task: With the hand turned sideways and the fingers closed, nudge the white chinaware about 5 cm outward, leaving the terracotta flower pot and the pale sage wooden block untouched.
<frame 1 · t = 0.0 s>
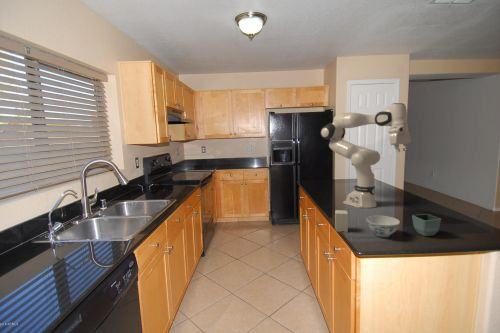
hand: (401, 151, 157), 39 cm above the countertop, tool pointing down, fingers open, 8 cm apart
chinaware: (382, 235, 129), on the countertop
flower pot: (425, 234, 127), on the countertop
sage block: (341, 229, 138), on the countertop
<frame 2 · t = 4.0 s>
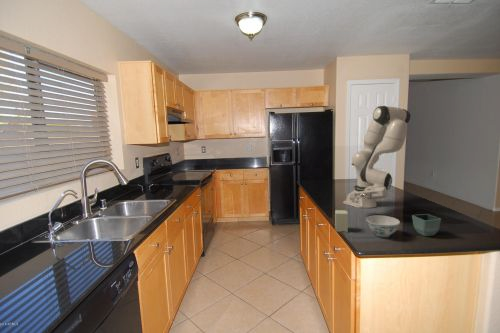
hand: (362, 195, 146), 16 cm above the countertop, tool horizontal, fingers closed
nothing on the countertop moved.
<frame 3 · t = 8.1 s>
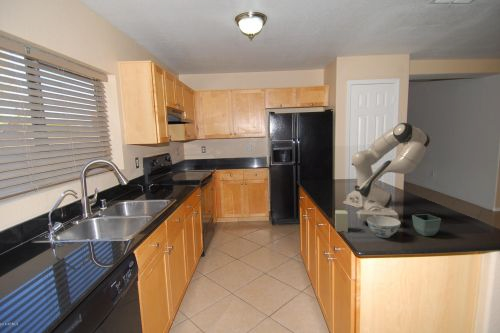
hand: (380, 220, 134), 6 cm above the countertop, tool horizontal, fingers closed
chinaware: (383, 235, 128), on the countertop, touching gripper
everything else where it was.
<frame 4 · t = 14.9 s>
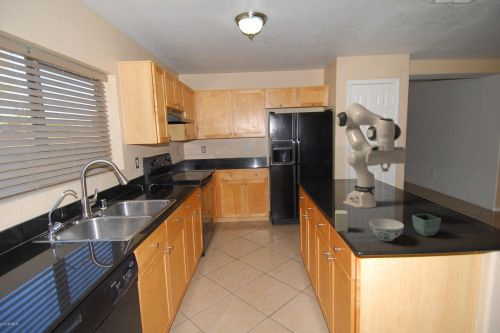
hand: (385, 171, 145), 29 cm above the countertop, tool pointing down, fingers closed
chinaware: (385, 239, 124), on the countertop
everything else where it was.
at the end: chinaware moved 4.9 cm from its start; flower pot moved 0.3 cm from its start; sage block moved 0.1 cm from its start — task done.
